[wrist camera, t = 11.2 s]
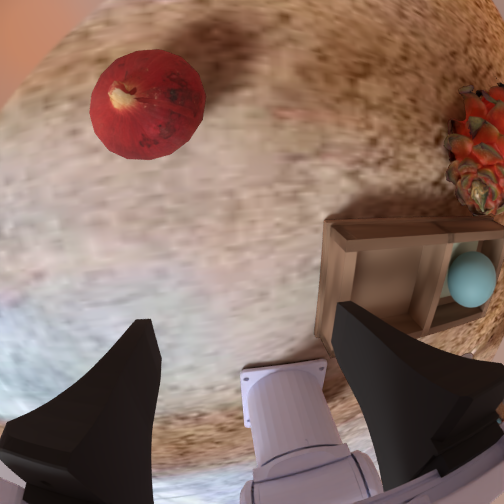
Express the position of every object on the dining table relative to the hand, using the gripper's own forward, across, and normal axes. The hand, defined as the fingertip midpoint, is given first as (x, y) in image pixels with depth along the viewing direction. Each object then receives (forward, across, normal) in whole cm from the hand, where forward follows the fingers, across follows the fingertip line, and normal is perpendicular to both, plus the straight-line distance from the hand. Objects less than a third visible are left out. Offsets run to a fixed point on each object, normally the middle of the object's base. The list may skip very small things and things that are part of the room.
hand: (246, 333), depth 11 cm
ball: (+7, -21, +4) cm, 22 cm away
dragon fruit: (+10, -20, -8) cm, 23 cm away
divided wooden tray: (+10, -16, +4) cm, 19 cm away
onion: (+10, +4, -9) cm, 14 cm away
